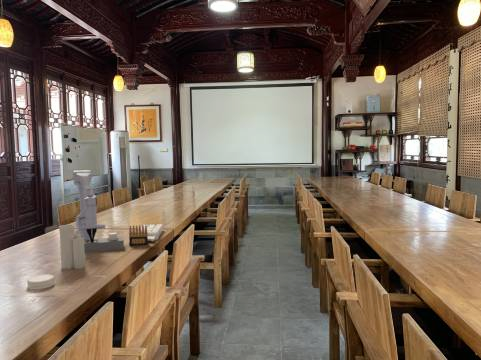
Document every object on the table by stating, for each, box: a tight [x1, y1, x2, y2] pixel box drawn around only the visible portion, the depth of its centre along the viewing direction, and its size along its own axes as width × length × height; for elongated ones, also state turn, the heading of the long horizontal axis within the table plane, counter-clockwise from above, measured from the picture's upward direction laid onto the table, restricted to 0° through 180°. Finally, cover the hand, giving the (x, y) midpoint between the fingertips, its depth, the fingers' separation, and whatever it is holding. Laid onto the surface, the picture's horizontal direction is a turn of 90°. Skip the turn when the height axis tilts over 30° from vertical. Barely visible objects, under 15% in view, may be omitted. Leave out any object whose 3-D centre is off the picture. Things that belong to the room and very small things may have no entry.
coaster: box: [26, 273, 55, 291], centre depth 158 cm, size 10×10×4 cm
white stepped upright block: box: [58, 224, 86, 270], centre depth 182 cm, size 11×7×20 cm, turn 92°
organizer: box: [135, 223, 163, 242], centre depth 244 cm, size 13×5×35 cm
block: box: [84, 236, 125, 254], centre depth 214 cm, size 22×10×5 cm, turn 110°
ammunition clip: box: [128, 224, 149, 247], centre depth 222 cm, size 11×2×12 cm, turn 102°
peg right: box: [108, 232, 118, 241], centre depth 216 cm, size 4×4×4 cm
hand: (92, 242), depth 212 cm, fingers closed, pressing on peg left
